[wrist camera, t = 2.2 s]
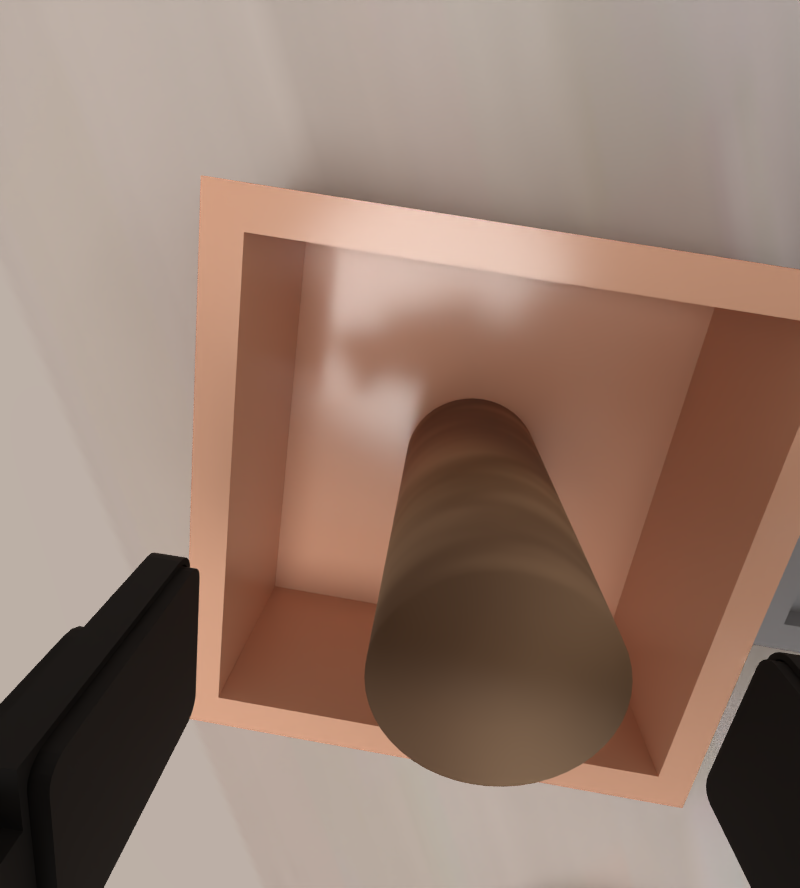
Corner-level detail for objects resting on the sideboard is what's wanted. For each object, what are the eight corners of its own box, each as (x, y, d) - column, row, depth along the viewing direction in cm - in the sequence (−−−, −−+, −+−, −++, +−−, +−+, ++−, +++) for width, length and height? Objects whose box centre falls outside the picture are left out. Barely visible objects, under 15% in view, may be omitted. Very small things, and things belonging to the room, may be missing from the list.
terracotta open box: (750, 273, 18) (906, 286, 12) (619, 658, 23) (682, 808, 17) (283, 200, 18) (200, 175, 12) (253, 594, 23) (184, 717, 17)
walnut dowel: (548, 409, 19) (667, 597, 9) (520, 527, 21) (592, 806, 10) (417, 388, 19) (383, 548, 9) (397, 506, 21) (349, 761, 11)
